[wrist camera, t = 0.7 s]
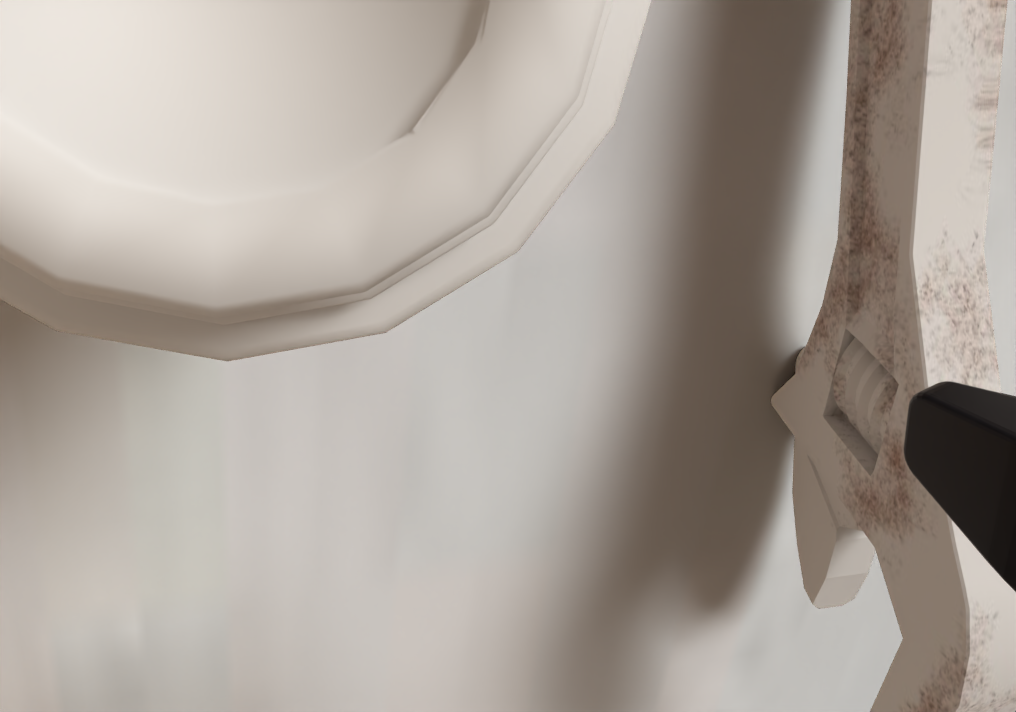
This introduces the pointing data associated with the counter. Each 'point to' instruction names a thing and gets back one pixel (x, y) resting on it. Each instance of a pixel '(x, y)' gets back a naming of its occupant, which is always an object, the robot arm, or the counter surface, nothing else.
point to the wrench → (906, 349)
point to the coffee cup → (286, 157)
